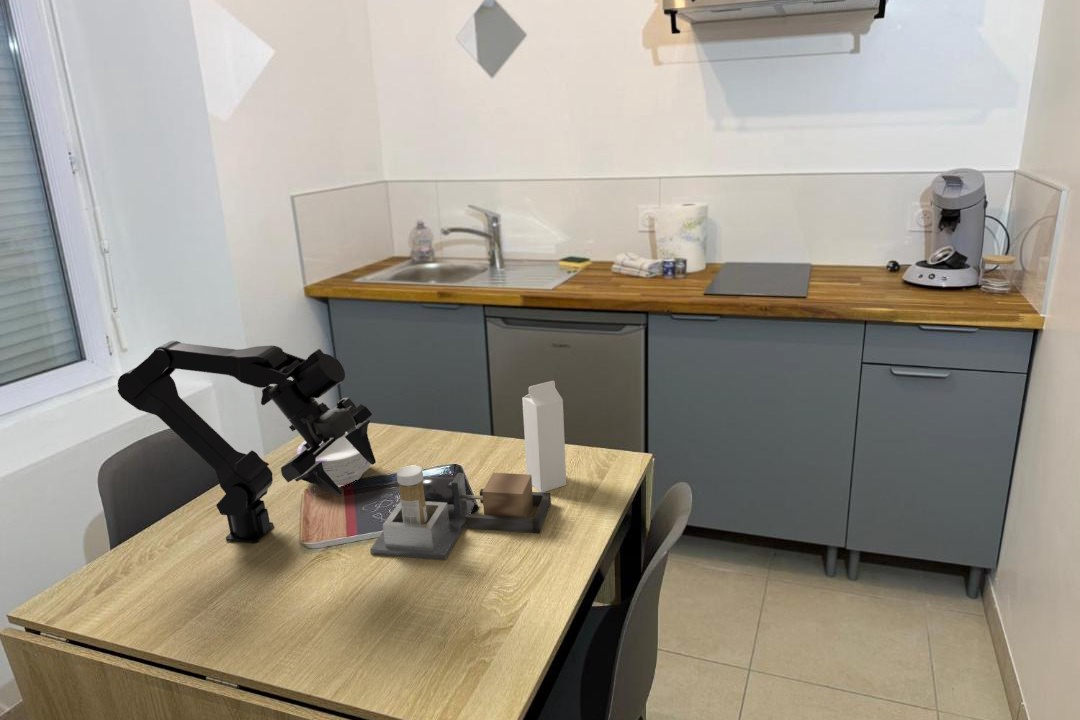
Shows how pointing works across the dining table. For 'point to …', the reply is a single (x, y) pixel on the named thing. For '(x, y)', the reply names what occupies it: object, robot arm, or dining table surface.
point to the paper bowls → (341, 461)
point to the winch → (429, 522)
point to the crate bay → (510, 505)
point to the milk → (544, 436)
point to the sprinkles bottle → (412, 494)
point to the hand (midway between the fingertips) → (357, 478)
